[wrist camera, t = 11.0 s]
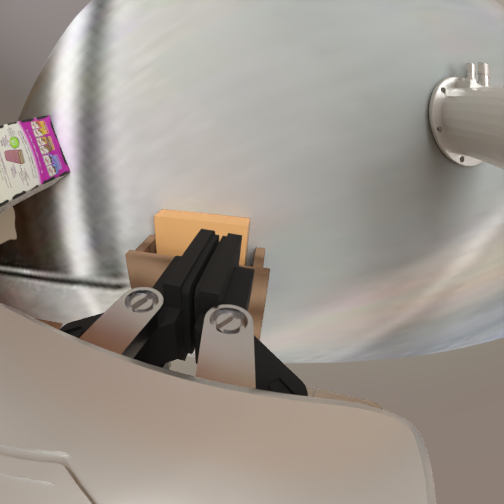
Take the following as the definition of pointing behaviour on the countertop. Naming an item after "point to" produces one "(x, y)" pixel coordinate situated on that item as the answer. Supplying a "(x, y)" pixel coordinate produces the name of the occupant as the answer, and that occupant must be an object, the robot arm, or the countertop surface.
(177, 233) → the orange cover
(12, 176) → the candy bar box
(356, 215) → the countertop surface
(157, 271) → the walnut shelf
